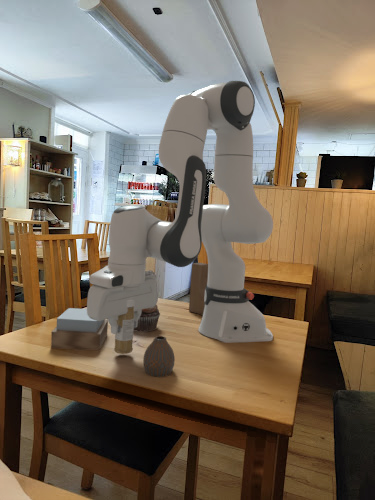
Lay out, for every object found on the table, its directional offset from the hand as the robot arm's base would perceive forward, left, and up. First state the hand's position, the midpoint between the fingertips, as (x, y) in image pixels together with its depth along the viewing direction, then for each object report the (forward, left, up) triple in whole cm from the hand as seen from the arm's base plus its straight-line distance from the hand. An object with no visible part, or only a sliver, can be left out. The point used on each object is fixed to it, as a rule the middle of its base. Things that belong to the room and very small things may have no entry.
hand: (124, 330), depth 89 cm
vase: (-9, +8, -7) cm, 14 cm away
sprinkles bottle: (0, 0, -6) cm, 6 cm away
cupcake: (-4, -24, -7) cm, 25 cm away
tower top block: (+12, -10, -3) cm, 16 cm away
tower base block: (+12, -10, -8) cm, 17 cm away
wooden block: (-24, -44, -7) cm, 50 cm away
